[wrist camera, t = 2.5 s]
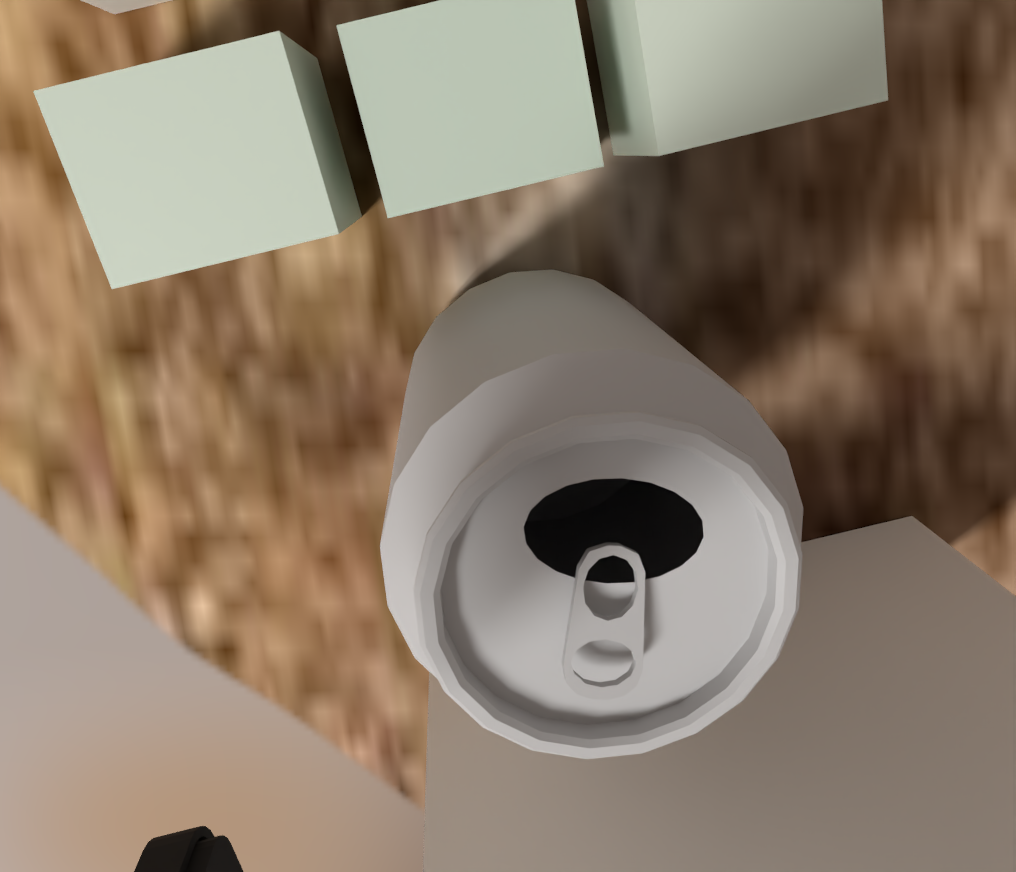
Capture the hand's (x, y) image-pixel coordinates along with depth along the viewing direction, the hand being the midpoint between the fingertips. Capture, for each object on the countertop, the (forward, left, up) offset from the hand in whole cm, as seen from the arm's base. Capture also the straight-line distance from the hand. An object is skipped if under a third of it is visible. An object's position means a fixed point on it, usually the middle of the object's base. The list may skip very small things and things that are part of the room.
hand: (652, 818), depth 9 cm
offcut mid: (-8, 0, -16) cm, 18 cm away
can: (0, 0, -16) cm, 16 cm away
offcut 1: (-8, -6, -16) cm, 19 cm away
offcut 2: (-8, +6, -16) cm, 19 cm away
